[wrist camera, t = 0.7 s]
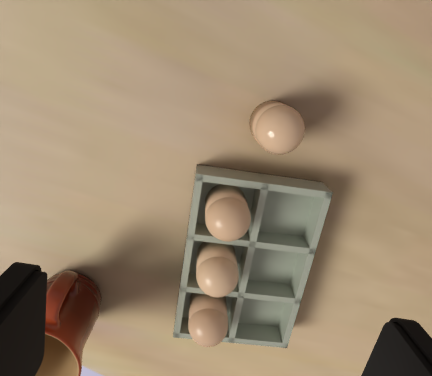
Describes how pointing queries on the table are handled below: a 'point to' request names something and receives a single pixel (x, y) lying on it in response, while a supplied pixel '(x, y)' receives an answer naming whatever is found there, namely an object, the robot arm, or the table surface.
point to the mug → (68, 322)
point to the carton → (247, 256)
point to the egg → (277, 127)
